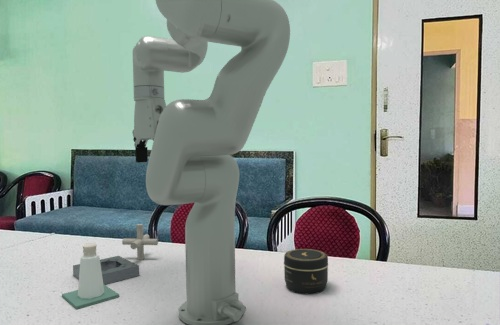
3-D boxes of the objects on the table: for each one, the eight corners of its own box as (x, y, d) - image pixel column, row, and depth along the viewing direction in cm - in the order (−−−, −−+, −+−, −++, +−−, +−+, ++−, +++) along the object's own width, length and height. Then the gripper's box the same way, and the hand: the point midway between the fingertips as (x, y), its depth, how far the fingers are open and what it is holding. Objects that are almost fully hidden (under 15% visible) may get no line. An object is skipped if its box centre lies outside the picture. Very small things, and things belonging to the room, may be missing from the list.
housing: (139, 275, 98) (139, 265, 98) (91, 288, 90) (90, 277, 90) (118, 265, 107) (118, 255, 107) (73, 275, 99) (72, 265, 98)
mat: (119, 296, 84) (119, 294, 84) (76, 309, 78) (76, 306, 78) (102, 286, 91) (102, 283, 91) (61, 296, 85) (61, 294, 85)
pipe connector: (163, 254, 117) (162, 221, 116) (151, 264, 107) (150, 228, 106) (130, 253, 118) (130, 220, 117) (116, 263, 108) (115, 228, 107)
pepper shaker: (78, 291, 86) (77, 242, 86) (105, 288, 88) (103, 240, 87) (76, 301, 81) (74, 248, 80) (104, 297, 83) (102, 246, 82)
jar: (293, 297, 83) (293, 262, 83) (278, 281, 93) (277, 250, 92) (336, 292, 86) (336, 258, 85) (316, 277, 95) (316, 246, 95)
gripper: (180, 92, 94) (182, 163, 95) (146, 99, 107) (147, 161, 108) (152, 90, 89) (154, 164, 90) (120, 97, 102) (122, 162, 103)
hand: (150, 162), depth 99 cm, fingers open, 9 cm apart
